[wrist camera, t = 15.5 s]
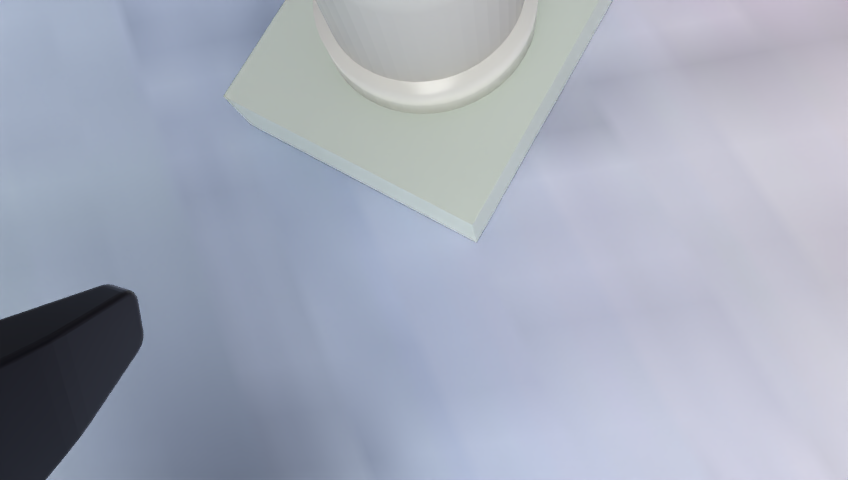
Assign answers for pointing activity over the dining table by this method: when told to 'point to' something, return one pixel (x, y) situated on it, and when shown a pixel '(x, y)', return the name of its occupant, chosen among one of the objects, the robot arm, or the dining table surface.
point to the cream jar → (426, 48)
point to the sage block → (412, 115)
